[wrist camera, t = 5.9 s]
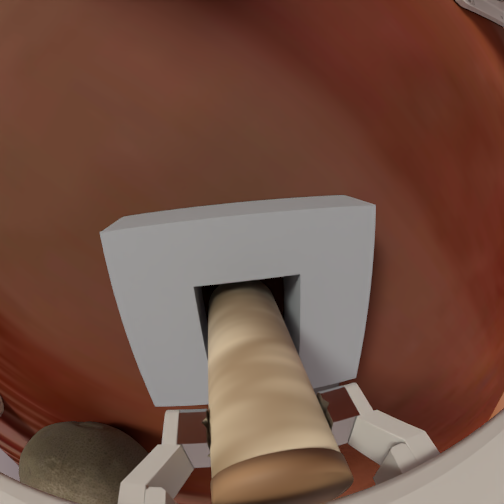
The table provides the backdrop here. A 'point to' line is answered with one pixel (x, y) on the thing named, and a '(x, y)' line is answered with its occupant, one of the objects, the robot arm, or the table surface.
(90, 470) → the cantaloupe
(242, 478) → the peg
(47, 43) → the table surface
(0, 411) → the figurine
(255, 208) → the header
